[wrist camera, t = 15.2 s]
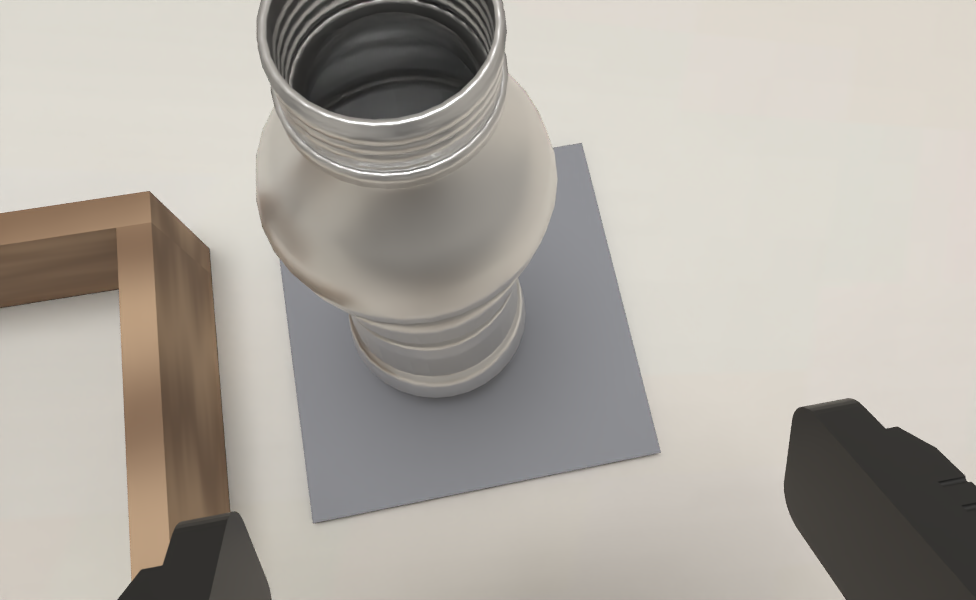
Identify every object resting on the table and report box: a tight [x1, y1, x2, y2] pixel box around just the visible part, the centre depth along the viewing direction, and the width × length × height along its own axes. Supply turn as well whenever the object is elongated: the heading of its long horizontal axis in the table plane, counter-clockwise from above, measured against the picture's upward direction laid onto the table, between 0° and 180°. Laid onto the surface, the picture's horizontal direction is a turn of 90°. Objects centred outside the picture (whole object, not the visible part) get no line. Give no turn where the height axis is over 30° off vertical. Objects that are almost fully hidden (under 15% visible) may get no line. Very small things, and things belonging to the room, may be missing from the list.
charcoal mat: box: [280, 143, 661, 523], centre depth 30 cm, size 14×14×1 cm
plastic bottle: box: [256, 0, 558, 398], centre depth 20 cm, size 6×7×20 cm
